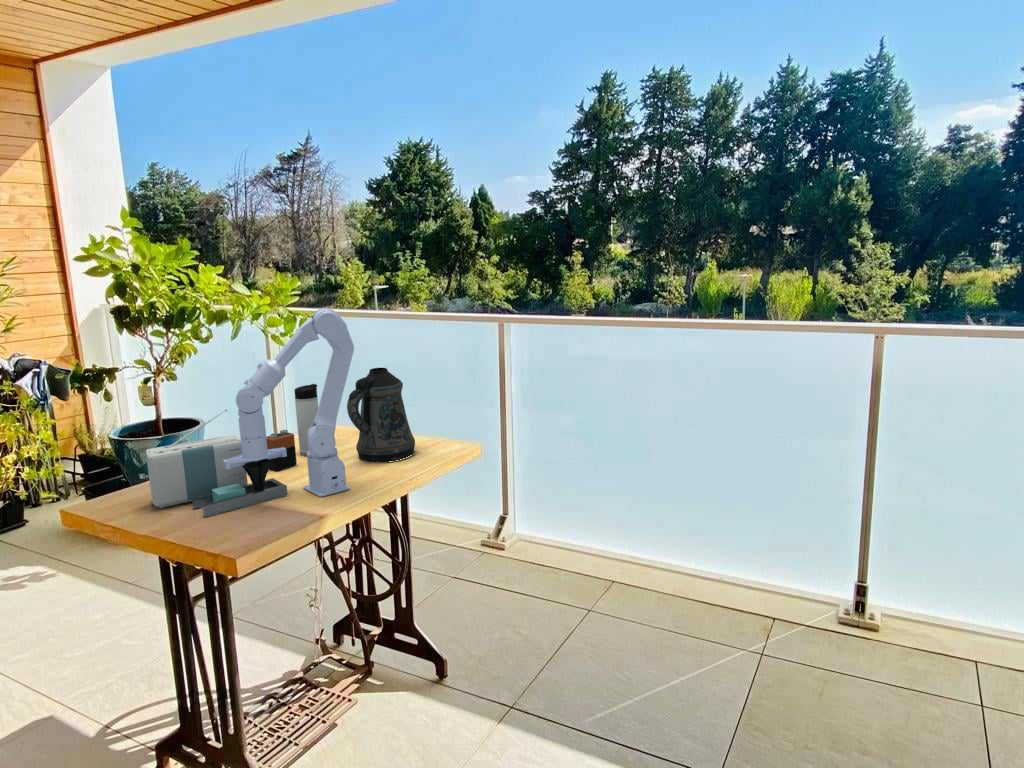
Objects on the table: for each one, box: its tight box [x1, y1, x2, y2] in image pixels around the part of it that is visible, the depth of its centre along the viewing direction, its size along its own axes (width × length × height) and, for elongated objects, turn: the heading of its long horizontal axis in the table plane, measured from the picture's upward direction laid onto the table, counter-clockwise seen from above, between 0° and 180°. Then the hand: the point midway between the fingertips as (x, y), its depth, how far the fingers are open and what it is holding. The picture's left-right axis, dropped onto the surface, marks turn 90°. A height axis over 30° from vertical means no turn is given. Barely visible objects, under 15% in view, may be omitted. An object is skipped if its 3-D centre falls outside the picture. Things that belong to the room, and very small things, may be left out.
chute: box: [191, 477, 289, 518], centre depth 164 cm, size 19×8×2 cm, turn 132°
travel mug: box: [293, 383, 319, 457], centre depth 201 cm, size 6×7×20 cm
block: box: [212, 484, 246, 502], centre depth 162 cm, size 5×6×4 cm
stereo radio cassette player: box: [145, 408, 249, 509], centre depth 167 cm, size 21×8×20 cm, turn 125°
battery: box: [266, 429, 298, 472], centre depth 189 cm, size 4×7×10 cm, turn 146°
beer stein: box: [346, 367, 416, 463], centre depth 195 cm, size 16×19×25 cm
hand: (258, 491), depth 167 cm, fingers closed
